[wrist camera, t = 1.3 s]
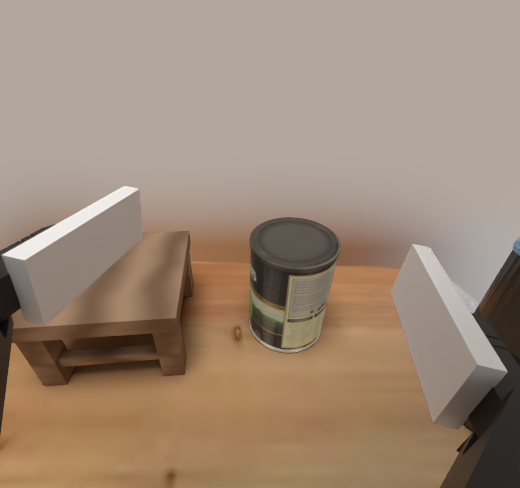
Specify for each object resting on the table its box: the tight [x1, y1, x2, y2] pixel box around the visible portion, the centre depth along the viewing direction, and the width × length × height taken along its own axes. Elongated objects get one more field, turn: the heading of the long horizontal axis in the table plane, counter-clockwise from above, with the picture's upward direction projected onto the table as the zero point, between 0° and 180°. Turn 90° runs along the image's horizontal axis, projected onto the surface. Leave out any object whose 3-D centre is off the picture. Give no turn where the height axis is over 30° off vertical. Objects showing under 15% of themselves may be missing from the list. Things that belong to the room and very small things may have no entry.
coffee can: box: [249, 217, 341, 353], centre depth 38 cm, size 10×10×14 cm
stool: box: [11, 231, 194, 386], centre depth 38 cm, size 16×16×10 cm
